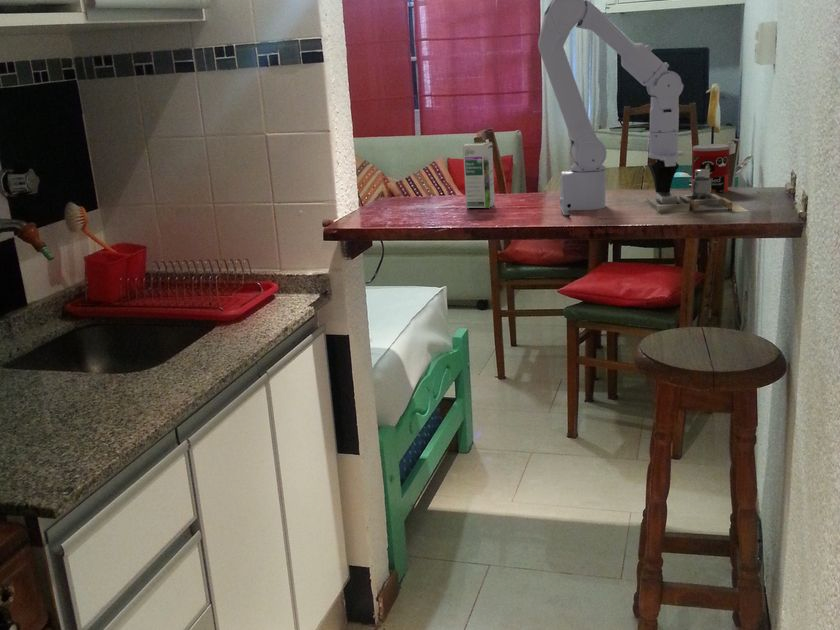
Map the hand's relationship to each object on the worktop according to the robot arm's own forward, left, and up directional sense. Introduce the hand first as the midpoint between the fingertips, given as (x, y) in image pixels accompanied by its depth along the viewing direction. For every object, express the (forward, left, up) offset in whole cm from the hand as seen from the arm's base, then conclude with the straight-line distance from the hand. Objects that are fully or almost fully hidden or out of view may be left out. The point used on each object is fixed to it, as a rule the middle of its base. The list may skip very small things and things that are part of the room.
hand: (662, 197), depth 172 cm
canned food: (+13, +12, -2) cm, 17 cm away
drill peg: (+7, -4, -1) cm, 8 cm away
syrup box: (-38, +13, -2) cm, 41 cm away
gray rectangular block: (0, -4, -1) cm, 4 cm away
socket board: (+5, -6, -2) cm, 8 cm away
